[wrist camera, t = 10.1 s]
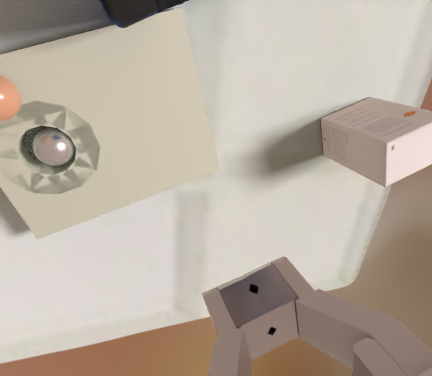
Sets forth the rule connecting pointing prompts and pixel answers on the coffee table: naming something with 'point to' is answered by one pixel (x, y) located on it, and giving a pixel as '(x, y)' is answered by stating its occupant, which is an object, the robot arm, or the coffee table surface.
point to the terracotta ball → (8, 99)
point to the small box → (379, 139)
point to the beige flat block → (105, 121)
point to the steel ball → (53, 147)
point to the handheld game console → (135, 10)
